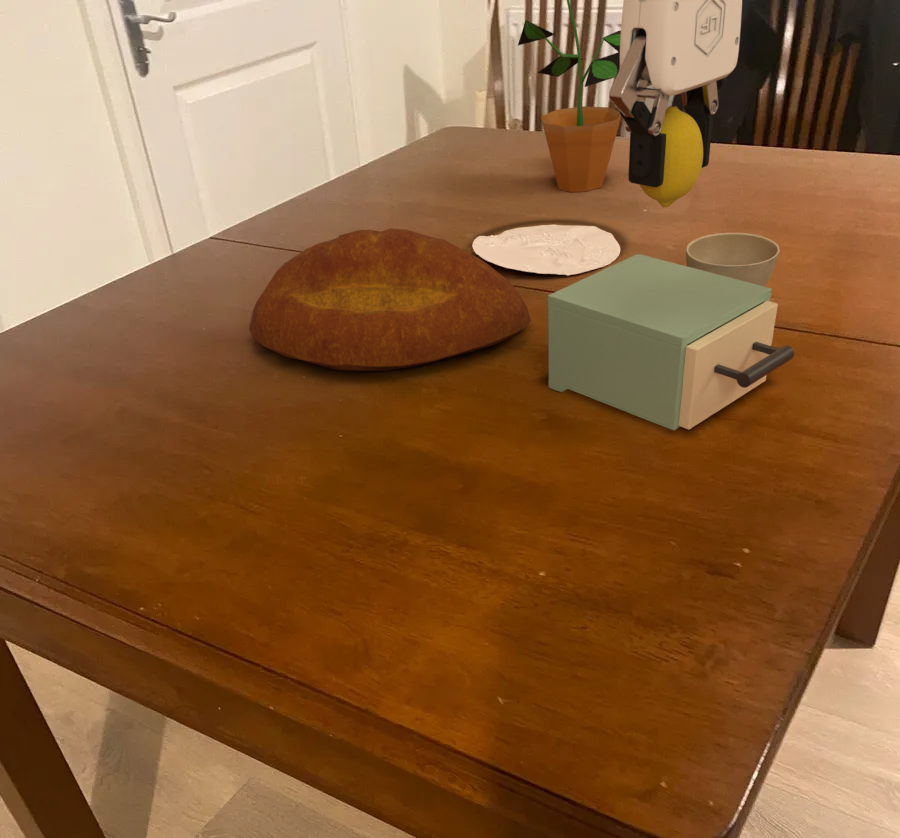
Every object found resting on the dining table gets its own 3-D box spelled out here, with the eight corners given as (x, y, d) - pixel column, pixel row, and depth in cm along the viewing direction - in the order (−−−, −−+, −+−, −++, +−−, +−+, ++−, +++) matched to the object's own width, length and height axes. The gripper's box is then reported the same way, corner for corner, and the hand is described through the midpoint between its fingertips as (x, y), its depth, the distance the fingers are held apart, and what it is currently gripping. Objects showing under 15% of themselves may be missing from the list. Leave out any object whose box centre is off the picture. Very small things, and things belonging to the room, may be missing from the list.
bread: (285, 305, 118) (265, 204, 110) (539, 304, 112) (538, 198, 104) (226, 381, 102) (198, 270, 94) (518, 385, 96) (515, 267, 88)
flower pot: (665, 303, 109) (670, 242, 104) (740, 287, 111) (748, 227, 106) (707, 335, 102) (715, 270, 97) (787, 317, 103) (798, 254, 99)
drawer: (801, 392, 88) (816, 313, 83) (724, 444, 82) (735, 362, 77) (647, 341, 99) (652, 269, 94) (569, 383, 93) (570, 308, 88)
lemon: (650, 222, 77) (656, 117, 72) (623, 204, 82) (627, 104, 76) (710, 211, 78) (720, 107, 73) (680, 193, 82) (687, 94, 77)
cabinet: (757, 383, 92) (772, 288, 86) (673, 437, 86) (682, 338, 79) (633, 342, 102) (638, 253, 95) (548, 387, 95) (547, 295, 89)
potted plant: (509, 178, 153) (501, -40, 134) (617, 163, 154) (625, -54, 135) (536, 209, 139) (532, -28, 120) (654, 193, 141) (669, -44, 122)
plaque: (452, 272, 121) (452, 261, 120) (496, 224, 135) (496, 214, 134) (603, 288, 116) (604, 276, 115) (631, 237, 130) (632, 226, 129)
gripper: (655, -76, 60) (641, 209, 72) (797, -104, 69) (763, 155, 80) (569, -75, 65) (568, 194, 76) (712, -102, 73) (691, 144, 85)
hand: (668, 172), depth 78 cm, fingers closed on lemon, 5 cm apart
